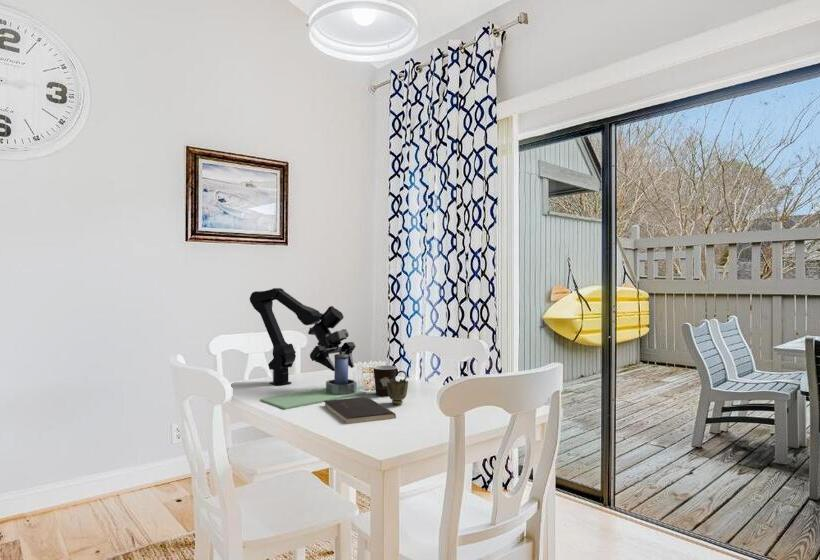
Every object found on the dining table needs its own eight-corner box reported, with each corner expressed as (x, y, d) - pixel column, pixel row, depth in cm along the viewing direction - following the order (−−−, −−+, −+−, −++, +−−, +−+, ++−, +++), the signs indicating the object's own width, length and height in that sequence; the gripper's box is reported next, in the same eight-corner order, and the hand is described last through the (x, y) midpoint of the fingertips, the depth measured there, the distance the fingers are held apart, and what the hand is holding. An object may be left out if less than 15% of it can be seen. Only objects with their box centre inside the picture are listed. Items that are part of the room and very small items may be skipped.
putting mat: (260, 400, 180) (260, 398, 180) (339, 386, 204) (339, 385, 204) (285, 409, 169) (285, 407, 169) (365, 393, 193) (365, 392, 193)
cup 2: (409, 401, 182) (409, 378, 181) (406, 407, 174) (407, 383, 174) (387, 401, 182) (388, 378, 182) (384, 406, 175) (385, 382, 175)
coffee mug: (369, 395, 190) (369, 368, 190) (379, 391, 198) (379, 364, 198) (398, 399, 185) (398, 371, 185) (407, 394, 193) (407, 367, 193)
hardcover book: (346, 425, 154) (346, 417, 154) (323, 407, 174) (323, 400, 174) (395, 419, 161) (395, 412, 161) (368, 403, 181) (368, 396, 181)
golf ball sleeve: (331, 391, 192) (332, 355, 192) (337, 388, 197) (337, 353, 197) (344, 392, 191) (345, 356, 190) (350, 389, 196) (350, 354, 196)
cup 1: (320, 391, 194) (320, 381, 194) (343, 386, 202) (343, 377, 202) (338, 396, 186) (338, 386, 186) (362, 391, 194) (362, 382, 194)
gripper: (315, 324, 189) (335, 357, 182) (352, 321, 203) (372, 352, 196) (301, 343, 194) (320, 377, 187) (338, 339, 208) (357, 370, 201)
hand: (343, 368), depth 193 cm, fingers open, 9 cm apart
